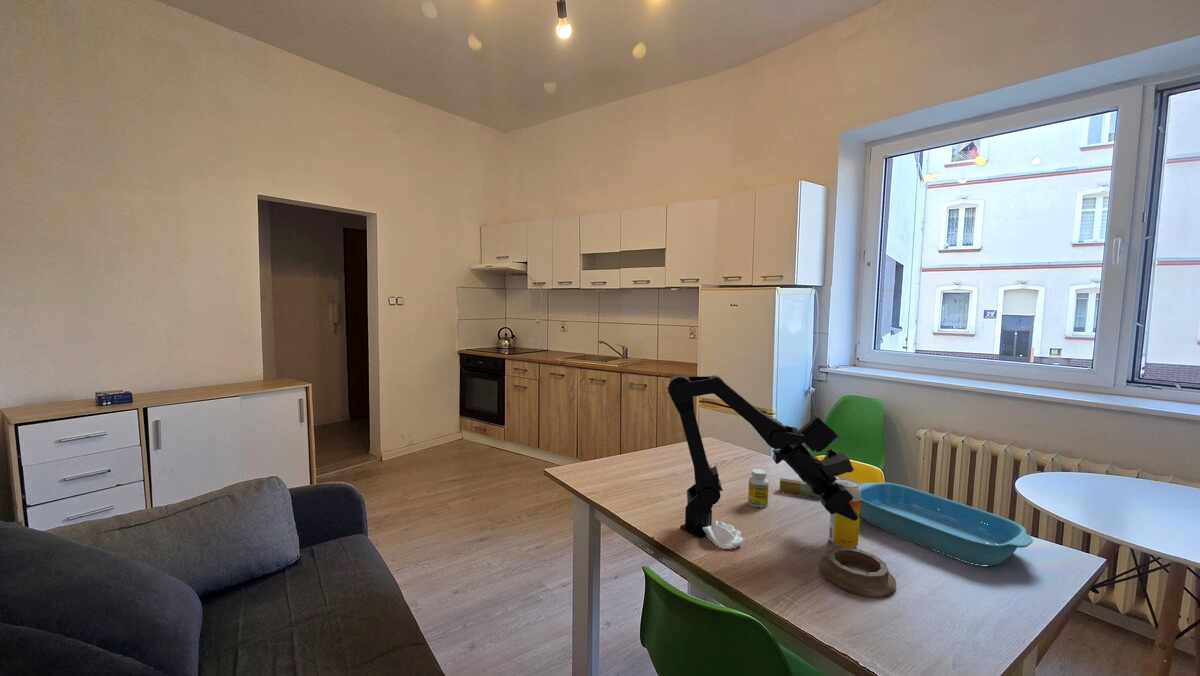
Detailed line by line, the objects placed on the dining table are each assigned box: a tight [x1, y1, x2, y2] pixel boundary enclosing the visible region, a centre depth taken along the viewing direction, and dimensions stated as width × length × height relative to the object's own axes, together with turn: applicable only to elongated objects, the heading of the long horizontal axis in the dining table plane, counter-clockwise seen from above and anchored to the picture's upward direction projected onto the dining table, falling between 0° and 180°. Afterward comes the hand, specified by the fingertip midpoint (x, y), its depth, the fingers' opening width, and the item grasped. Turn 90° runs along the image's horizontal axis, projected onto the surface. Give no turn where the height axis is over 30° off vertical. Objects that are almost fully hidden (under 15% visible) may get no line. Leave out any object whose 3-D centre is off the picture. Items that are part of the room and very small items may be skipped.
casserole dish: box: [859, 482, 1034, 567], centre depth 115 cm, size 37×22×7 cm, turn 32°
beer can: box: [828, 477, 861, 549], centre depth 109 cm, size 6×6×15 cm
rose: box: [702, 520, 744, 550], centre depth 110 cm, size 10×4×10 cm
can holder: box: [818, 547, 897, 599], centre depth 96 cm, size 14×14×4 cm
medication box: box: [778, 477, 821, 500], centre depth 139 cm, size 12×3×4 cm, turn 66°
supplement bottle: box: [747, 468, 770, 509], centre depth 131 cm, size 5×5×10 cm
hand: (851, 513), depth 109 cm, fingers closed on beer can, 6 cm apart
